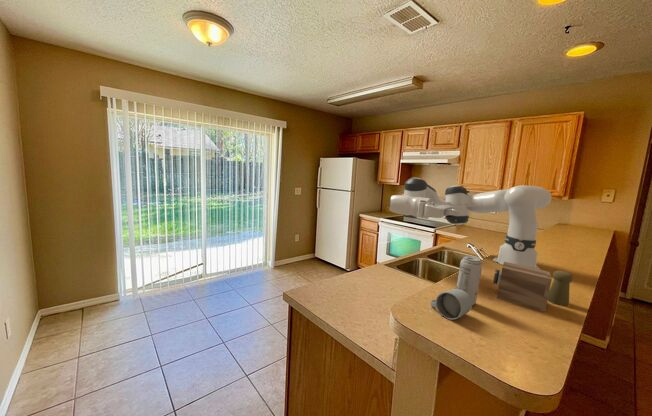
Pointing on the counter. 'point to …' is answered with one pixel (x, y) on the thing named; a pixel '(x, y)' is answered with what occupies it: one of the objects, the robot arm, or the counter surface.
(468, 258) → the energy drink can
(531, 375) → the counter surface
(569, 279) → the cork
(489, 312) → the counter surface
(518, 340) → the counter surface
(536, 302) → the block
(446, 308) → the ceramic mug
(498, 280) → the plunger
